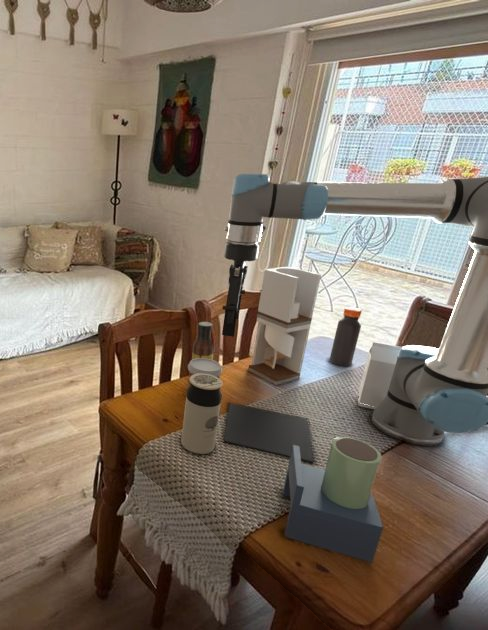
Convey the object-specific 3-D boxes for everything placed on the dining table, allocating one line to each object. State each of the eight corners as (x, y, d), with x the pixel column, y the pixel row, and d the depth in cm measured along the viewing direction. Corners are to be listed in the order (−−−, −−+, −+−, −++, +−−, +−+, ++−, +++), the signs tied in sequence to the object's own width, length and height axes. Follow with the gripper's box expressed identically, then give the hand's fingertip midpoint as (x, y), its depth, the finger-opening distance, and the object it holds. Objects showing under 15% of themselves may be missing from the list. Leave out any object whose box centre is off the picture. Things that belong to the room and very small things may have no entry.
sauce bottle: (212, 380, 141) (220, 323, 134) (207, 388, 136) (215, 329, 129) (192, 375, 144) (199, 318, 138) (186, 383, 139) (193, 324, 133)
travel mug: (175, 437, 112) (182, 374, 106) (203, 433, 113) (212, 371, 107) (190, 457, 104) (199, 390, 98) (220, 452, 106) (230, 386, 100)
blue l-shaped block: (358, 511, 89) (373, 462, 85) (372, 562, 77) (389, 509, 73) (282, 491, 94) (292, 444, 90) (284, 537, 82) (296, 485, 78)
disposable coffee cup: (213, 394, 133) (218, 358, 129) (220, 410, 124) (226, 372, 120) (181, 392, 134) (185, 356, 130) (186, 408, 125) (191, 371, 121)
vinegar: (349, 360, 157) (363, 307, 150) (352, 368, 151) (366, 313, 144) (328, 357, 159) (340, 304, 153) (330, 364, 153) (342, 310, 147)
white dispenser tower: (248, 370, 149) (264, 269, 137) (270, 364, 153) (288, 266, 141) (275, 384, 139) (296, 277, 127) (299, 378, 143) (321, 274, 131)
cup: (363, 486, 84) (376, 442, 81) (372, 514, 77) (386, 467, 74) (318, 475, 87) (329, 432, 83) (323, 501, 80) (335, 455, 77)
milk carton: (387, 413, 124) (405, 351, 118) (358, 406, 127) (374, 346, 121) (385, 402, 130) (402, 343, 123) (357, 395, 133) (372, 337, 127)
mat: (306, 419, 120) (306, 418, 120) (313, 463, 103) (313, 461, 103) (229, 403, 128) (229, 402, 127) (224, 441, 110) (224, 440, 110)
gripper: (230, 233, 116) (220, 309, 123) (219, 250, 94) (208, 341, 101) (261, 235, 113) (249, 313, 120) (257, 253, 91) (243, 346, 98)
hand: (230, 326), depth 111 cm, fingers open, 13 cm apart
